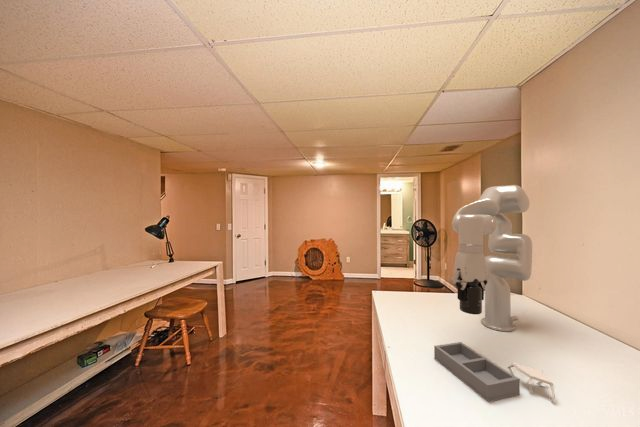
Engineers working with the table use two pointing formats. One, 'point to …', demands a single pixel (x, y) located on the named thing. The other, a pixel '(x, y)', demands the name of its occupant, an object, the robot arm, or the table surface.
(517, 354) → the table surface
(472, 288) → the supplement bottle
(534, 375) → the origami figure
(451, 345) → the divided tray
